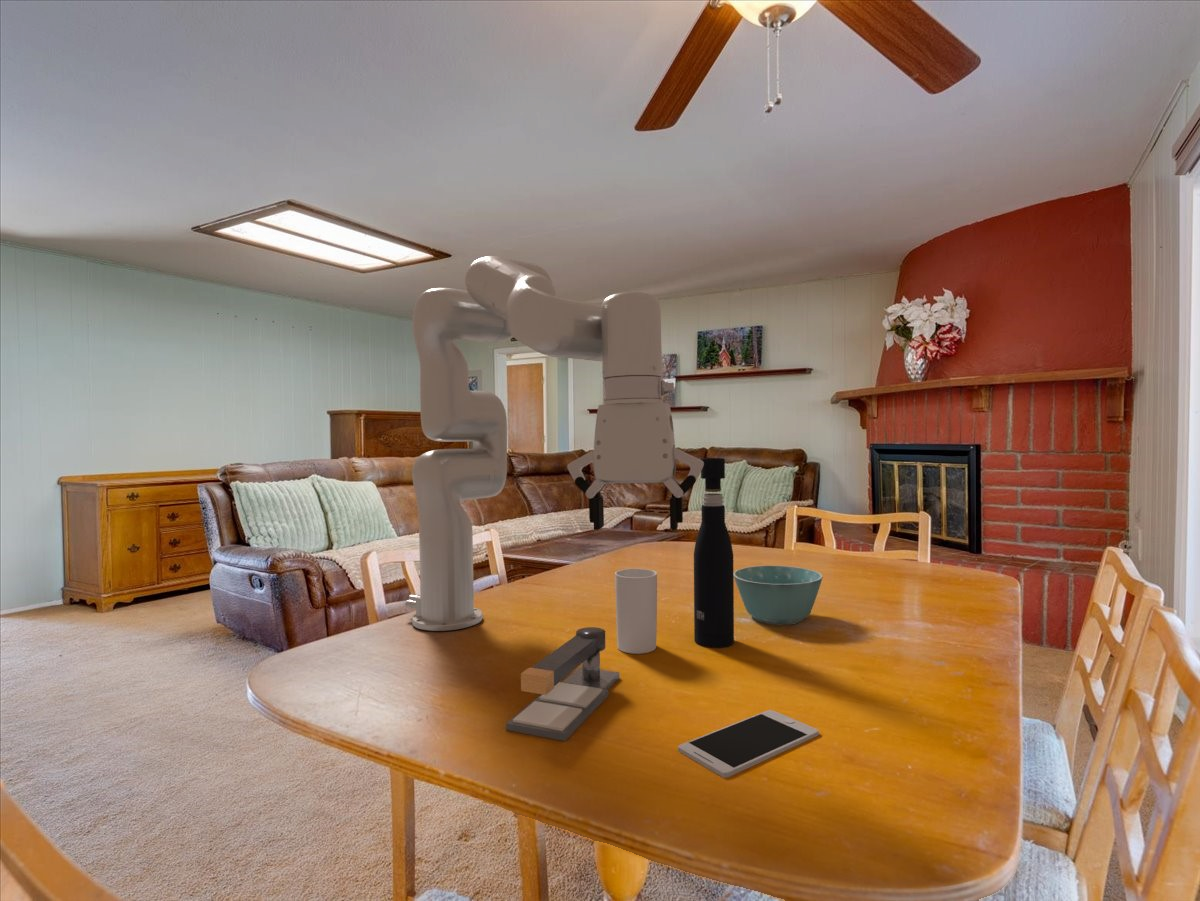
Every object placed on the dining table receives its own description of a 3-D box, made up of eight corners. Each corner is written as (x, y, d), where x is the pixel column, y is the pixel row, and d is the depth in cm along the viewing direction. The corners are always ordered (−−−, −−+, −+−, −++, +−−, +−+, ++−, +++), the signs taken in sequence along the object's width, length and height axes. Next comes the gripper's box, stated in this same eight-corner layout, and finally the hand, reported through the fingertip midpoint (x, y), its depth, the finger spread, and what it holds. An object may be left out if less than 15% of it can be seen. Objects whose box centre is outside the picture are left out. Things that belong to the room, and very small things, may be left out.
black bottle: (736, 637, 106) (735, 457, 105) (731, 649, 100) (730, 459, 99) (698, 633, 108) (696, 457, 108) (690, 645, 102) (689, 459, 101)
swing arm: (583, 641, 90) (583, 625, 90) (609, 644, 89) (609, 629, 89) (518, 691, 73) (517, 672, 73) (549, 696, 71) (548, 676, 71)
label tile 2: (532, 707, 80) (532, 698, 80) (556, 687, 86) (556, 679, 86) (588, 717, 77) (588, 708, 77) (608, 695, 83) (608, 687, 83)
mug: (665, 651, 100) (664, 575, 99) (625, 657, 97) (624, 579, 97) (638, 632, 109) (638, 563, 109) (602, 637, 107) (601, 566, 106)
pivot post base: (562, 687, 86) (561, 654, 86) (580, 672, 92) (580, 641, 91) (603, 694, 84) (602, 660, 84) (619, 677, 89) (619, 646, 89)
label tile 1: (506, 730, 74) (505, 720, 74) (533, 707, 80) (533, 698, 80) (565, 741, 71) (564, 731, 71) (588, 716, 77) (588, 707, 77)
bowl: (726, 626, 113) (726, 579, 112) (741, 603, 127) (741, 562, 127) (820, 635, 107) (819, 586, 106) (824, 610, 121) (824, 567, 121)
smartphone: (820, 737, 72) (820, 729, 72) (725, 782, 63) (724, 772, 63) (770, 715, 78) (770, 708, 78) (676, 753, 69) (676, 745, 69)
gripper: (703, 392, 82) (706, 524, 83) (573, 397, 86) (576, 524, 86) (700, 388, 75) (704, 533, 75) (558, 394, 78) (562, 532, 79)
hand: (636, 528), depth 81 cm, fingers open, 9 cm apart
